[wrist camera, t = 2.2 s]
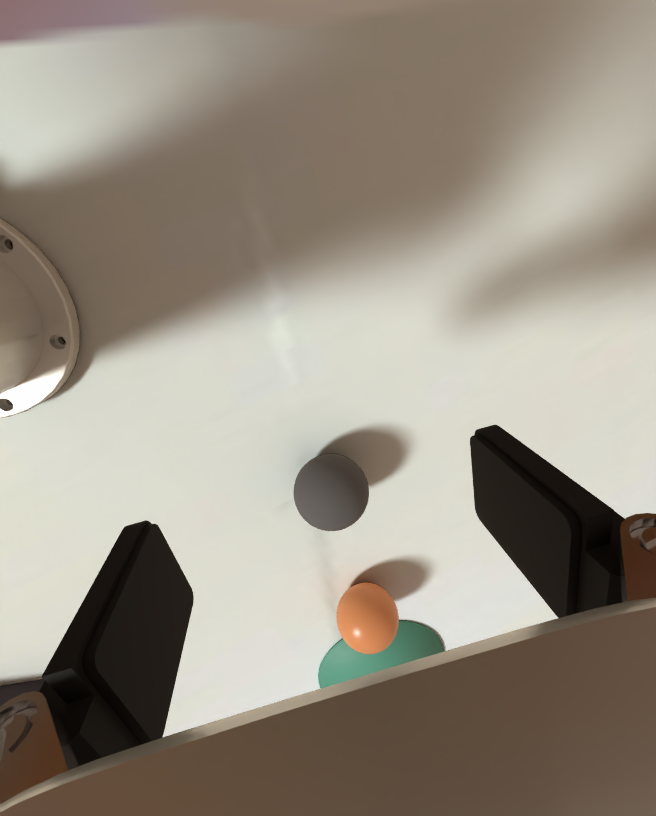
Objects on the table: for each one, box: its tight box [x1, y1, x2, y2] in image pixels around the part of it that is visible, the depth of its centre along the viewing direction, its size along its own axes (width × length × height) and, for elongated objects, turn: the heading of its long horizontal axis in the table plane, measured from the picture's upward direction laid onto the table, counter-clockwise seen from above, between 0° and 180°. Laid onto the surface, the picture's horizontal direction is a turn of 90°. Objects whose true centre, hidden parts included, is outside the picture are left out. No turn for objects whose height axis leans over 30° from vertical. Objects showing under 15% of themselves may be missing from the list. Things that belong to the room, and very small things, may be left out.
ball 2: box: [336, 583, 399, 654], centre depth 32 cm, size 6×6×6 cm
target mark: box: [318, 621, 444, 689], centre depth 39 cm, size 14×14×1 cm
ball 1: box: [294, 454, 369, 531], centre depth 27 cm, size 6×6×6 cm
